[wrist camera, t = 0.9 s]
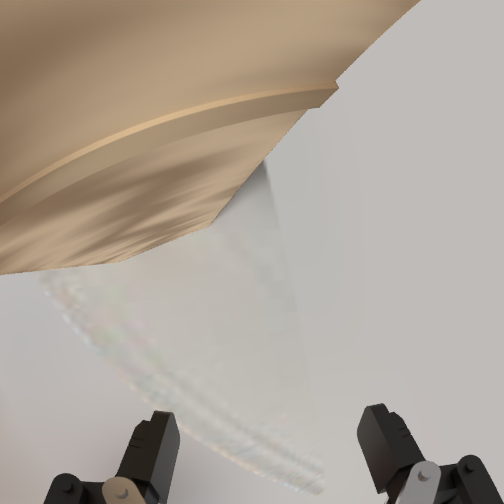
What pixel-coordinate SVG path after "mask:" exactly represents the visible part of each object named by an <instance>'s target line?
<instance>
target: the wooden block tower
mask: <svg viewBox="0 0 504 504" xmlns="http://www.w3.org/2000/svg"><path fill="white" fill-rule="evenodd" d="M419 1H420V0H0V275H5V274H13V273H23V272H32V271H41V270H50V269H59V268H68V267H78V266H87V265H96V264H106V263H115V262H120V261H123V260H125V259H128V258H130V257H132V256H135V255H137V254H140V253H142V252H144V251H147V250H149V249H152V248H154V247H157V246H159V245H162V244H164V243H166V242H169V241H172V240H174V239H177V238H179V237H182V236H184V235H187V234H189V233H192V232H194V231H197V230H200V229H202V228H205V227H207V226H209V225H210V224H211V223H212V221H213V220H214V219H215V218H216V216H217V215H218V214H219V213H220V211H221V210H222V209H223V208H224V206H225V205H226V204H227V203H228V201H229V200H230V199H231V198H232V196H233V195H234V194H235V193H236V192H237V190H238V189H239V188H240V187H241V185H242V184H243V183H244V182H245V181H246V179H247V178H248V177H249V176H250V175H251V174H252V172H253V171H254V170H255V169H256V168H257V166H258V165H259V164H260V163H261V162H262V161H263V159H264V158H265V157H266V156H267V155H268V154H269V152H270V151H271V150H272V149H273V148H274V147H275V146H276V144H277V143H278V142H279V141H280V140H281V139H282V137H283V136H284V135H285V134H286V133H287V132H288V131H289V130H290V129H291V128H292V126H293V125H294V124H295V123H296V122H297V121H298V120H299V119H300V117H301V116H302V115H303V114H304V113H305V112H306V111H307V110H308V109H311V108H318V107H320V106H321V105H322V104H323V103H324V102H325V101H326V100H327V99H328V98H329V97H330V96H331V95H332V94H333V93H334V92H335V91H336V90H337V89H339V87H338V85H337V83H336V82H335V80H336V79H337V78H338V77H339V76H340V75H341V74H342V73H343V72H344V71H345V70H346V69H347V68H348V67H349V66H350V65H351V64H352V63H353V62H354V61H355V60H356V59H357V58H358V57H359V56H360V55H361V54H362V53H363V52H364V51H365V50H366V49H367V48H368V47H369V46H370V45H372V44H373V43H374V42H375V41H376V40H377V39H378V38H379V37H380V36H381V35H382V34H383V33H384V32H385V31H386V30H388V29H389V28H390V26H392V25H393V24H394V23H395V22H396V21H397V20H399V19H400V18H401V17H402V16H403V15H404V14H405V13H406V12H407V11H409V10H410V9H411V8H412V7H413V6H414V5H416V4H417V3H418V2H419Z"/></svg>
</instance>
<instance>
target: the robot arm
mask: <svg viewBox="0 0 504 504" xmlns="http://www.w3.org/2000/svg"><path fill="white" fill-rule="evenodd" d="M357 437H358V441H359V444H360V446H361V449H362V452H363V454H364V457H365V459H366V462H367V465H368V468H369V471H370V473H371V476H372V479H373V481H374V484H375V487H376V490H377V493H378V494H380V493H384V492H387V494H388V497H387V499H386V501H385V503H384V504H504V503H503V501H502V499H501V497H500V495H499V493H498V491H497V489H496V487H495V485H494V483H493V481H492V479H491V477H490V475H489V474H488V472H487V470H486V468H485V466H484V464H483V463H482V461H481V460H480V458H478V457H477V456H474V455H467V456H464V457H463V458H462V459H460V461H459V462H458V463H457V464H451V465H444V466H438V465H437V464H435V463H434V462H430V461H426V460H425V458H424V457H423V455H422V453H421V451H420V450H419V447H418V445H417V444H416V442H415V440H414V438H413V436H412V435H411V433H410V431H409V429H408V428H407V426H406V424H405V422H404V420H403V419H402V418H401V417H400V416H399V415H397V414H396V413H395V412H391V413H389V411H388V409H387V408H386V406H385V405H384V404H383V403H381V404H377V405H372V406H367V407H366V408H365V410H364V413H363V415H362V418H361V420H360V423H359V426H358V429H357ZM128 445H129V446H128V447H127V449H126V451H125V454H124V457H123V459H122V462H121V464H120V467H119V469H118V472H117V474H116V475H115V477H113V478H110V479H108V480H107V481H106V482H83V481H80V480H79V479H78V478H77V477H76V476H74V475H72V474H68V473H63V474H60V475H58V476H56V477H55V478H54V480H53V482H52V484H51V486H50V489H49V491H48V494H47V496H46V499H45V501H44V504H158V503H160V504H166V503H167V499H168V494H169V489H170V485H171V480H172V475H173V471H174V466H175V462H176V458H177V454H178V449H179V445H180V434H179V430H178V427H177V424H176V420H175V417H174V414H173V413H172V412H164V411H154V413H153V415H152V418H151V421H145V420H143V421H142V422H141V423H140V424H138V425H137V426H136V427H135V429H134V432H133V434H132V437H131V439H130V441H129V444H128Z"/></svg>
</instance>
